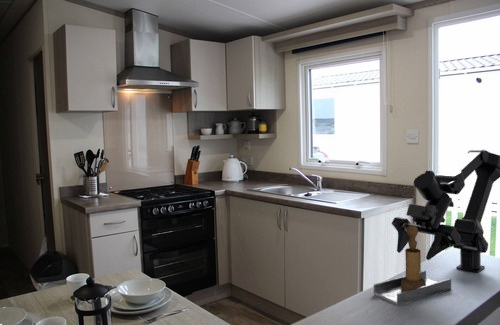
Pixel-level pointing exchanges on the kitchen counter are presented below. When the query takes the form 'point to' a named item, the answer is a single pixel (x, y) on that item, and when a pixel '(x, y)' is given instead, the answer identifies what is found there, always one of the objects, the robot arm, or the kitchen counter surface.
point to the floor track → (399, 297)
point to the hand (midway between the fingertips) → (412, 255)
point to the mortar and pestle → (412, 263)
